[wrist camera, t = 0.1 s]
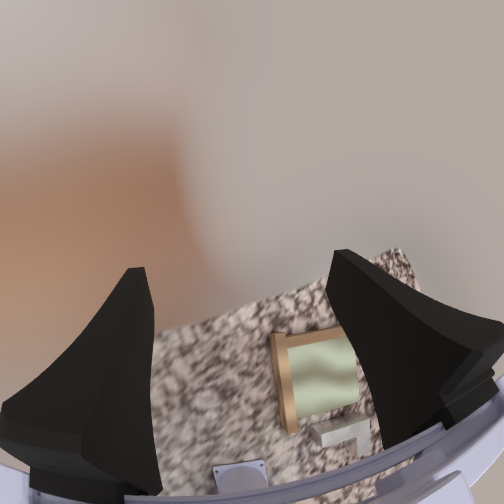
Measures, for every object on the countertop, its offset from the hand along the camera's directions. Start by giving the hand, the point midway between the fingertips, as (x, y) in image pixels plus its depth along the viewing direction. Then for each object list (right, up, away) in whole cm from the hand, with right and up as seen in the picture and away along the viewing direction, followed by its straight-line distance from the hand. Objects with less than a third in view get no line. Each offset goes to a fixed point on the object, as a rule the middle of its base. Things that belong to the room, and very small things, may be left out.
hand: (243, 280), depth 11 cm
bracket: (+14, -29, +28) cm, 42 cm away
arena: (+10, -18, +30) cm, 37 cm away
